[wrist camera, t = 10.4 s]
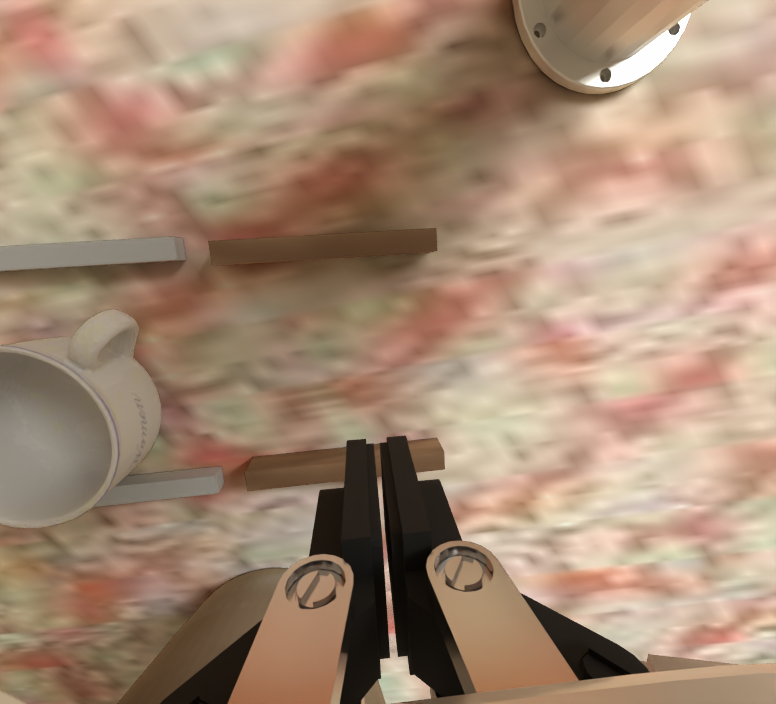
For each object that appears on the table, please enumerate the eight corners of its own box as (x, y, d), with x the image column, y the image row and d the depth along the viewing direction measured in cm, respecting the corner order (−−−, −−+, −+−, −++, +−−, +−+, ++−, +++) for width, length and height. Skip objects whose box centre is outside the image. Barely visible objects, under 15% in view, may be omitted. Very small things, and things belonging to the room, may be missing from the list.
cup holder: (220, 243, 28) (208, 241, 25) (428, 231, 29) (436, 228, 26) (255, 473, 31) (247, 491, 29) (437, 454, 33) (444, 469, 30)
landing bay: (-84, 253, 26) (-109, 252, 24) (182, 238, 27) (173, 236, 26) (-4, 507, 30) (-22, 519, 28) (224, 483, 31) (218, 493, 30)
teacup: (110, 489, 31) (29, 565, 23) (-12, 393, 28) (-150, 441, 20) (238, 373, 30) (199, 410, 22) (124, 263, 27) (34, 261, 19)
